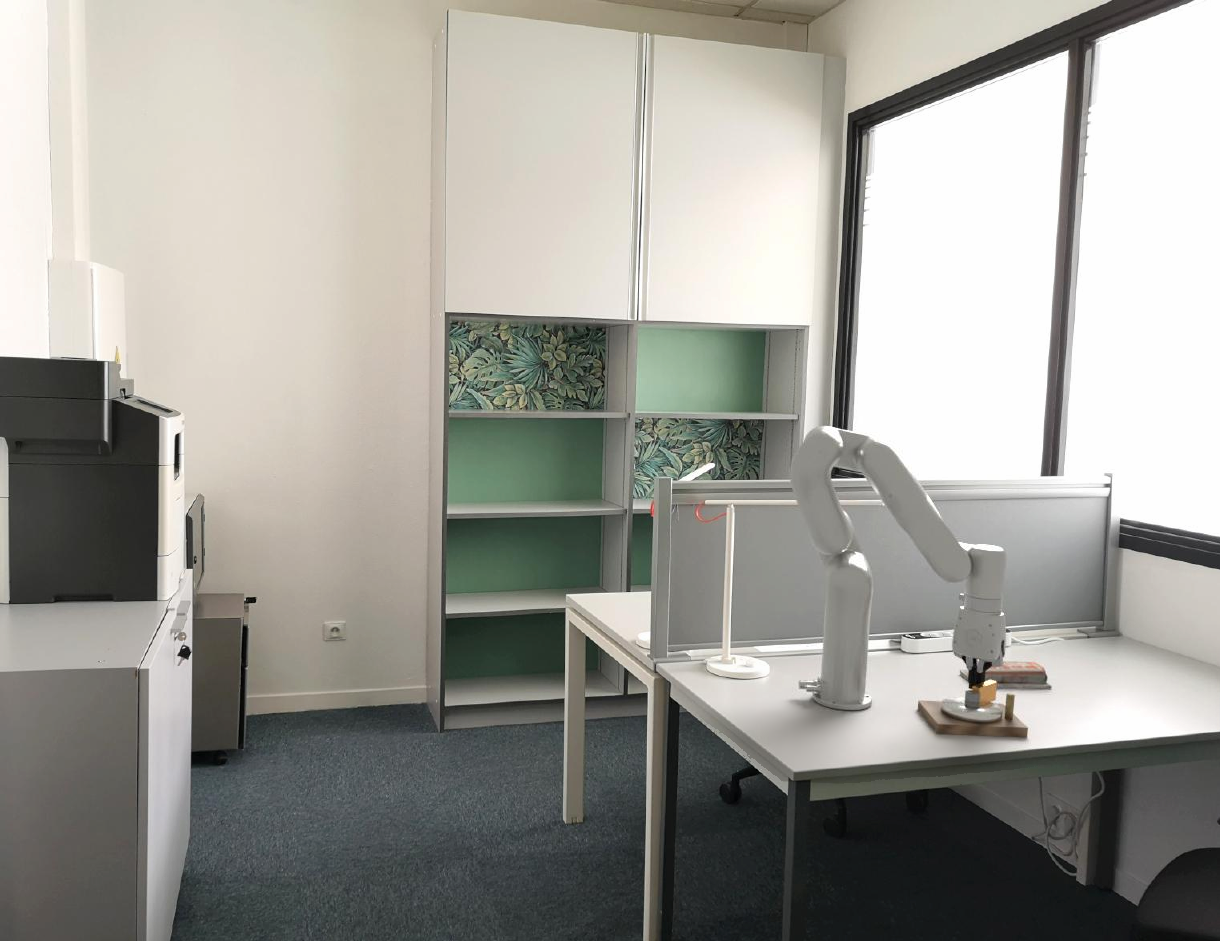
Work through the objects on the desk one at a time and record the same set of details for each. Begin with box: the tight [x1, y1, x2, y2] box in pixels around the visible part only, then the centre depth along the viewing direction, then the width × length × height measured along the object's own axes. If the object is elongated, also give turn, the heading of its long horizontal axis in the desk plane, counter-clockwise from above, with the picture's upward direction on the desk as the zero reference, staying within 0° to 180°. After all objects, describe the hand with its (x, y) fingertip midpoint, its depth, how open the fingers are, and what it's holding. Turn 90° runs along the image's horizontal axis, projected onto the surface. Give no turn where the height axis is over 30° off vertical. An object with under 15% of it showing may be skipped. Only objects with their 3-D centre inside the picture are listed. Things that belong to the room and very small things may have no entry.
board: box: [917, 692, 1029, 738], centre depth 215 cm, size 18×14×7 cm
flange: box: [941, 680, 1003, 723], centre depth 216 cm, size 14×12×5 cm
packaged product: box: [959, 660, 1053, 690], centre depth 244 cm, size 18×5×10 cm
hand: (975, 688), depth 221 cm, fingers closed
